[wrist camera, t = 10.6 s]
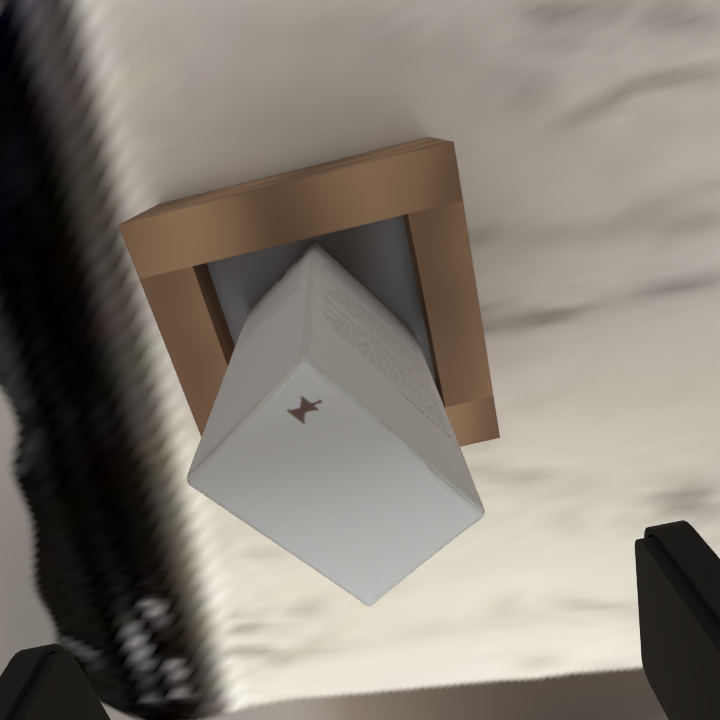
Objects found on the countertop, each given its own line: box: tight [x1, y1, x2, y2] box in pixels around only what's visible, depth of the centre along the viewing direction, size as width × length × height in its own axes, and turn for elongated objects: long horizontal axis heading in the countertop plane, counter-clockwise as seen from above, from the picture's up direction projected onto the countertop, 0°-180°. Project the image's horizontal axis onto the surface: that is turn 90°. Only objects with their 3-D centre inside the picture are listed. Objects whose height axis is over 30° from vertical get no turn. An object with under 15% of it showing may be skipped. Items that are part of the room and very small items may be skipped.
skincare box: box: [187, 242, 485, 606], centre depth 19 cm, size 6×4×12 cm
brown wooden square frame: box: [119, 137, 500, 446], centre depth 25 cm, size 12×12×5 cm
